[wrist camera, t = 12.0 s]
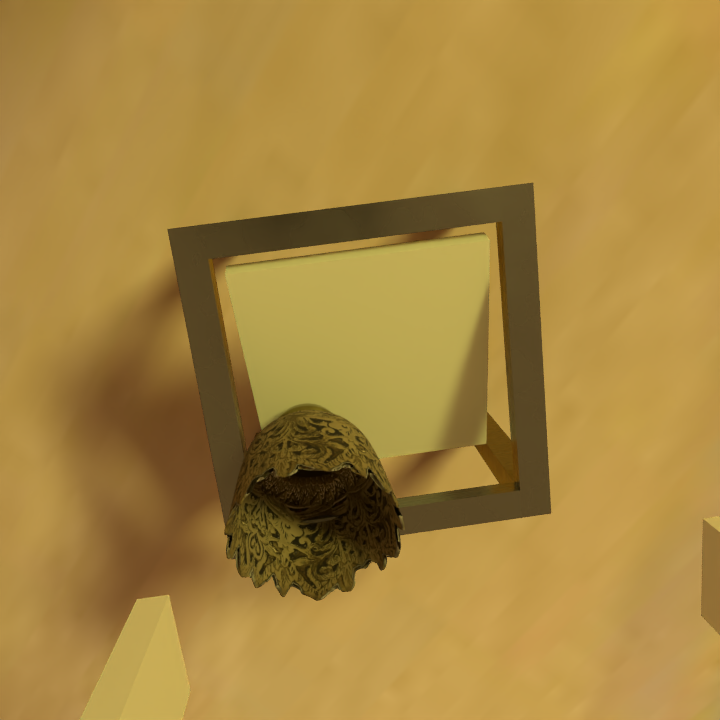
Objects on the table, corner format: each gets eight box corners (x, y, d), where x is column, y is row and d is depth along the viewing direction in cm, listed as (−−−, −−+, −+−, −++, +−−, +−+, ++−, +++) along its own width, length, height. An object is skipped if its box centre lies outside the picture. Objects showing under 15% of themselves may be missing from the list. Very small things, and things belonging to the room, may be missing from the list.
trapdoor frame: (219, 224, 40) (167, 229, 27) (462, 193, 41) (533, 182, 27) (259, 452, 44) (231, 559, 30) (481, 422, 45) (551, 513, 31)
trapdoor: (226, 265, 28) (224, 274, 27) (484, 232, 28) (490, 240, 28) (272, 461, 35) (271, 473, 34) (481, 432, 35) (486, 443, 34)
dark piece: (289, 501, 35) (294, 625, 28) (203, 416, 31) (185, 534, 24) (401, 435, 33) (436, 548, 26) (325, 339, 30) (342, 440, 23)
